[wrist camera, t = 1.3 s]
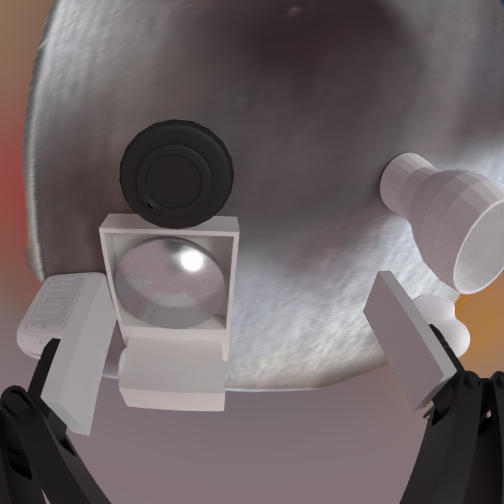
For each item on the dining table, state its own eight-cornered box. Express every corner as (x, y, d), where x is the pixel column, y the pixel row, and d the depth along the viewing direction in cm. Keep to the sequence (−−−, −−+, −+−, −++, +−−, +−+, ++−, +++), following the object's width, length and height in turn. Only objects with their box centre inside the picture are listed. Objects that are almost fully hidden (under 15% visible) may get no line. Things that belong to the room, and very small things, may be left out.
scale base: (108, 213, 29) (68, 277, 19) (236, 216, 31) (248, 284, 22) (133, 342, 40) (121, 407, 30) (226, 345, 42) (231, 413, 33)
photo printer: (55, 298, 34) (24, 366, 24) (44, 273, 32) (4, 341, 22) (117, 294, 35) (93, 372, 25) (107, 267, 33) (75, 345, 22)
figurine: (438, 308, 45) (471, 356, 35) (404, 327, 46) (434, 378, 36) (440, 281, 41) (479, 331, 31) (403, 301, 42) (439, 357, 32)
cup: (382, 236, 35) (449, 318, 22) (355, 165, 29) (442, 233, 17) (443, 198, 33) (520, 261, 20) (426, 126, 27) (525, 172, 15)
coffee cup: (138, 177, 27) (106, 222, 19) (158, 99, 24) (128, 109, 15) (214, 197, 30) (214, 249, 21) (240, 122, 26) (252, 142, 17)
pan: (116, 225, 29) (107, 240, 26) (227, 228, 31) (228, 244, 28) (129, 308, 35) (124, 326, 33) (221, 312, 37) (222, 330, 34)
